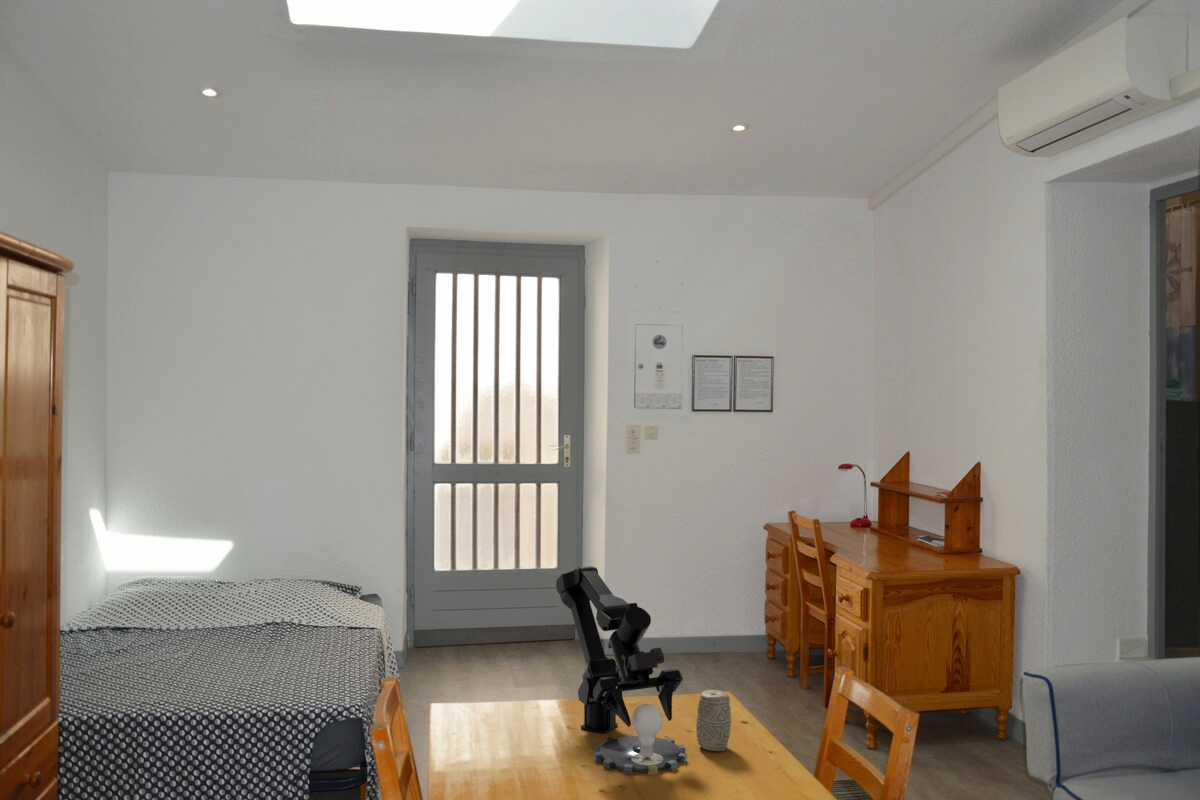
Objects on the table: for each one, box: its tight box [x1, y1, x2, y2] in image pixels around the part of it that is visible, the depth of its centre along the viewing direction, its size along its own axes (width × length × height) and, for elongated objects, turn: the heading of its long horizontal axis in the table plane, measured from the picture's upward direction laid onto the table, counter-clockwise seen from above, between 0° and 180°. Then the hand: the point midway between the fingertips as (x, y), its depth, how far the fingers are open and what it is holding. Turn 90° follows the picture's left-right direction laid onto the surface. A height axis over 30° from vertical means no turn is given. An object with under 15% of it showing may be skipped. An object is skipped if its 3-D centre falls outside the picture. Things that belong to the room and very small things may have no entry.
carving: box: [695, 689, 732, 752], centre depth 211 cm, size 6×8×12 cm
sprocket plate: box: [593, 733, 687, 776], centre depth 206 cm, size 19×19×2 cm
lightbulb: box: [631, 703, 664, 758], centre depth 201 cm, size 6×6×11 cm
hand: (650, 722), depth 199 cm, fingers open, 9 cm apart
